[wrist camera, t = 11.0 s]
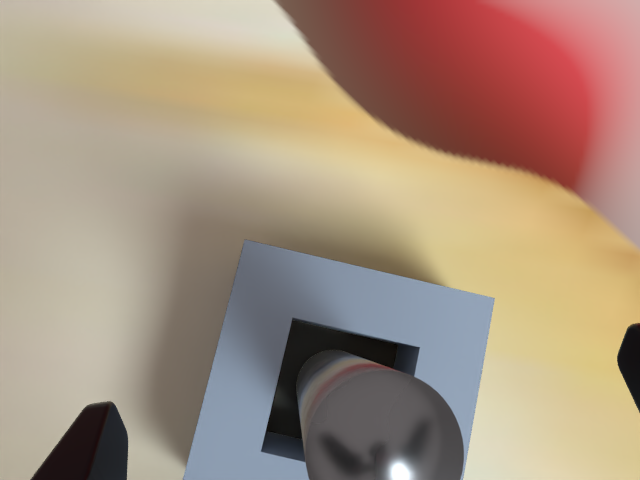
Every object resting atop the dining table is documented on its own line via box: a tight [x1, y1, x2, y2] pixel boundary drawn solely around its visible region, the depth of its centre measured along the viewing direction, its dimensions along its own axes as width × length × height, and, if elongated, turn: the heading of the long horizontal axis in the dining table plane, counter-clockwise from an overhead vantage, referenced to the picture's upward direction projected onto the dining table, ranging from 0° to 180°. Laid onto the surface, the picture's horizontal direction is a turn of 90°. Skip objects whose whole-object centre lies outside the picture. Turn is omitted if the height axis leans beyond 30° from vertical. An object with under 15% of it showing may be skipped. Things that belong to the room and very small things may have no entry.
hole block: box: [183, 240, 495, 480], centre depth 21 cm, size 9×9×4 cm
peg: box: [296, 350, 464, 480], centre depth 17 cm, size 3×3×12 cm
